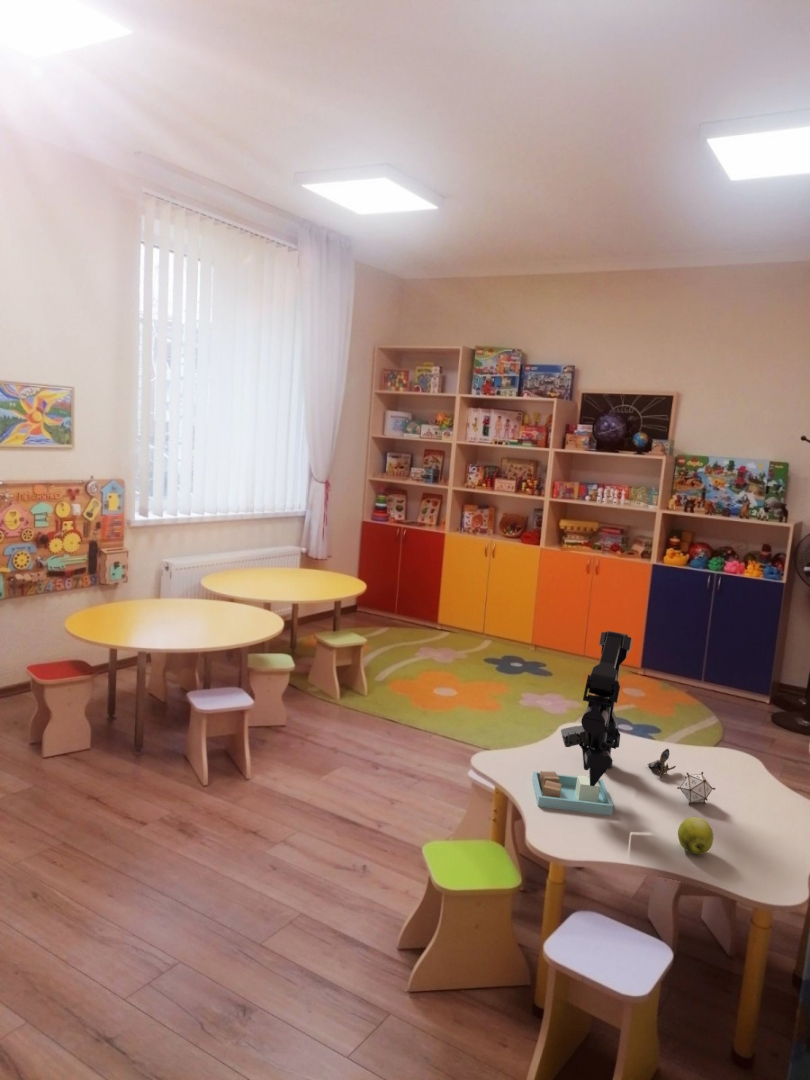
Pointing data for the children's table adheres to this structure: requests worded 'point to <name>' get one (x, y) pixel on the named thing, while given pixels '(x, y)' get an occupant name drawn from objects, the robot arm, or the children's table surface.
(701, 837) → the apple
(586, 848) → the children's table surface
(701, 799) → the game die
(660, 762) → the eagle figurine
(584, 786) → the sage block
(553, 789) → the walnut block
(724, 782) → the children's table surface
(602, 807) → the tray
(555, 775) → the walnut block
